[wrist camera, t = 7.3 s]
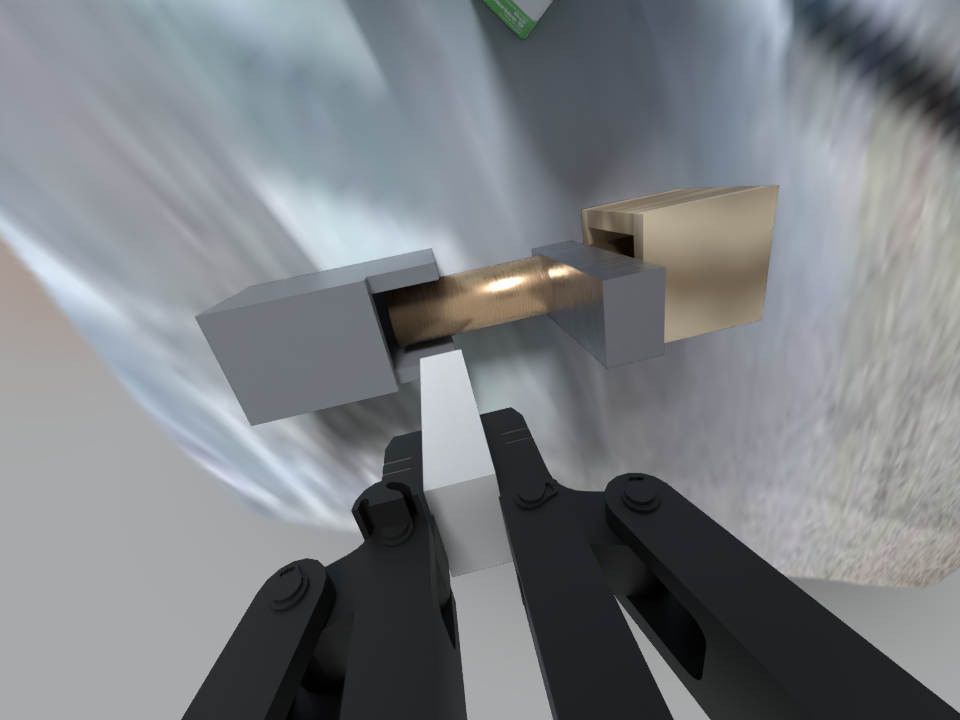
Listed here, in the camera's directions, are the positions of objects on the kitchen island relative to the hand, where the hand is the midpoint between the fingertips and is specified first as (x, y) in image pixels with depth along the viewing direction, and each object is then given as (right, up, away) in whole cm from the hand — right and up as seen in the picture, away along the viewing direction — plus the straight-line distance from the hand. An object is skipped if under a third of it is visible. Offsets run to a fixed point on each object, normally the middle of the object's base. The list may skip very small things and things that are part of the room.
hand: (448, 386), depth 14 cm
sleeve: (-8, +5, +15) cm, 17 cm away
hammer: (+4, +7, +14) cm, 16 cm away
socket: (+13, +9, +16) cm, 23 cm away
